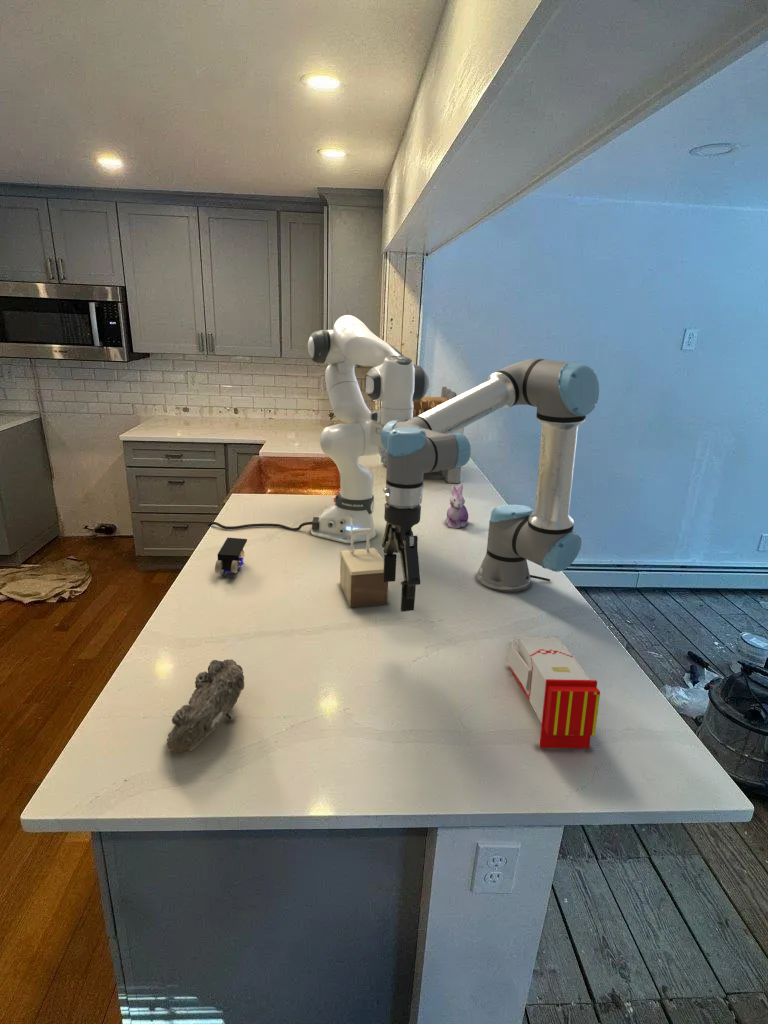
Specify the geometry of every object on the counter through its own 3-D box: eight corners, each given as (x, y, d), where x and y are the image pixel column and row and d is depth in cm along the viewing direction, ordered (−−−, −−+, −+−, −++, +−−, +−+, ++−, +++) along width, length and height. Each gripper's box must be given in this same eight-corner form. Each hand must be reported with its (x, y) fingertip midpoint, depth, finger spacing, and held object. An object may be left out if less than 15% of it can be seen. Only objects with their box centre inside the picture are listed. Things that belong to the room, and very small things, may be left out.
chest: (340, 584, 162) (340, 554, 159) (374, 581, 165) (375, 552, 161) (350, 607, 150) (351, 575, 146) (387, 603, 152) (388, 572, 149)
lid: (340, 553, 159) (340, 526, 156) (375, 551, 162) (376, 524, 159) (351, 575, 146) (351, 546, 144) (388, 572, 149) (390, 544, 146)
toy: (554, 620, 129) (609, 687, 99) (549, 674, 131) (601, 755, 102) (501, 619, 128) (541, 686, 99) (497, 673, 131) (534, 754, 102)
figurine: (453, 530, 205) (457, 490, 200) (438, 521, 213) (441, 482, 208) (475, 527, 209) (479, 488, 204) (459, 517, 217) (462, 480, 212)
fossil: (192, 660, 117) (244, 628, 112) (224, 691, 120) (276, 661, 115) (142, 746, 98) (202, 712, 93) (182, 779, 101) (242, 748, 96)
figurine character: (238, 584, 162) (249, 557, 175) (236, 562, 158) (247, 536, 172) (215, 584, 161) (227, 556, 175) (212, 561, 158) (225, 535, 171)
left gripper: (430, 422, 149) (427, 473, 153) (383, 411, 164) (382, 457, 169) (412, 424, 145) (409, 476, 150) (366, 412, 161) (364, 460, 165)
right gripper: (370, 486, 127) (367, 571, 134) (403, 526, 105) (397, 626, 112) (402, 484, 129) (397, 569, 136) (441, 523, 107) (433, 622, 114)
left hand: (394, 466), depth 159 cm, fingers open, 8 cm apart
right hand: (397, 594), depth 124 cm, fingers open, 13 cm apart
